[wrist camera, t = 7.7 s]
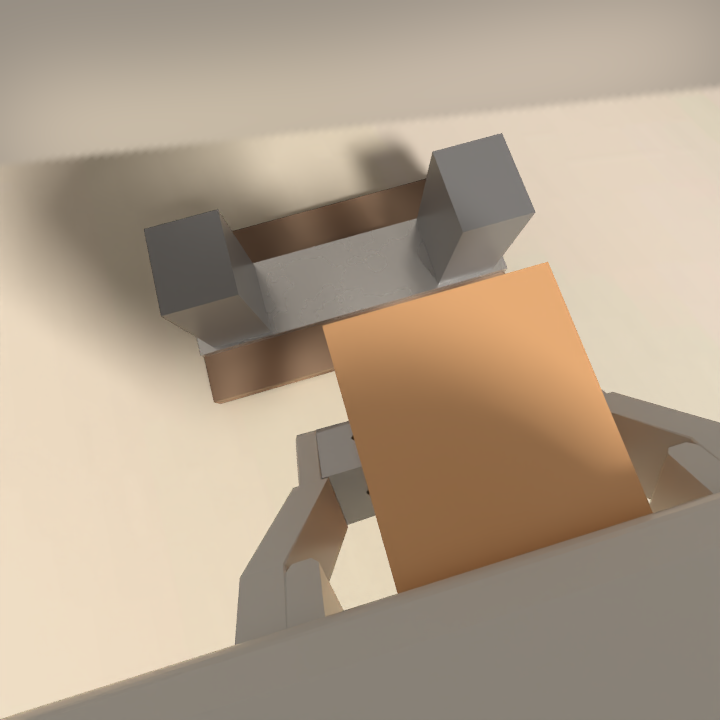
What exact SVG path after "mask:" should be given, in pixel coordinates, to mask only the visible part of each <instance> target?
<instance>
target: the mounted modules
mask: <svg viewBox="0 0 720 720" xmlns="http://www.w3.org/2000/svg"><path fill="white" fill-rule="evenodd" d="M534 213H535V210H534V208H533V205H532V203H531V201H530V198H529V196H528V193H527V191H526V189H525V186H524V184H523V182H522V179H521V177H520V175H519V172H518V170H517V168H516V165H515V163H514V160H513V158H512V156H511V153H510V151H509V149H508V146H507V144H506V142H505V139H504V137H503V134H502V133H501V134H497V135H493V136H490V137H486V138H482V139H478V140H475V141H471V142H467V143H463V144H460V145H456V146H452V147H448V148H445V149H441V150H437V151H434V152H432V157H431V161H430V165H429V169H428V174H427V178H426V182H425V186H424V191H423V195H422V199H421V203H420V208H419V212H418V216H417V221H416V223H417V225H418V228H419V231H420V234H421V237H422V240H423V242H424V245H425V248H426V251H427V254H428V257H429V259H430V262H431V265H432V268H433V271H434V274H435V276H436V279H437V282H438V284H441V283H445V282H448V281H452V280H456V279H459V278H463V277H466V276H470V275H473V274H477V273H480V272H484V271H487V270H491V269H493V268H494V266H495V265H496V264H497V263H498V261H499V260H500V259H501V257H502V256H503V255H504V253H505V252H506V251H507V249H508V248H509V247H510V245H511V244H512V243H513V241H514V240H515V239H516V237H517V236H518V235H519V233H520V232H521V231H522V229H523V228H524V227H525V225H526V224H527V223H528V221H529V220H530V219H531V217H532V216H533V215H534ZM144 232H145V237H146V242H147V247H148V252H149V257H150V262H151V267H152V273H153V278H154V283H155V288H156V293H157V298H158V303H159V308H160V313H161V316H162V317H163V318H165V319H167V320H168V321H170V322H172V323H173V324H175V325H177V326H178V327H180V328H182V329H183V330H185V331H187V332H189V333H190V334H192V335H194V336H195V337H197V338H199V339H200V340H202V341H204V342H205V343H207V344H209V345H210V346H212V347H214V348H215V347H219V346H222V345H226V344H230V343H233V342H237V341H240V340H244V339H247V338H251V337H254V336H258V335H261V334H265V333H268V332H271V328H270V324H269V321H268V317H267V313H266V309H265V305H264V301H263V297H262V293H261V289H260V285H259V281H258V277H257V273H256V270H255V266H254V264H253V263H252V261H251V260H250V258H249V257H248V255H247V254H246V252H245V251H244V249H243V247H242V246H241V244H240V243H239V241H238V240H237V238H236V237H235V235H234V234H233V232H232V230H231V229H230V227H229V226H228V224H227V223H226V221H225V220H224V218H223V217H222V215H221V213H220V212H219V210H218V209H217V210H213V211H210V212H206V213H202V214H199V215H195V216H191V217H187V218H184V219H180V220H176V221H172V222H169V223H165V224H161V225H158V226H154V227H150V228H146V229H144Z"/></svg>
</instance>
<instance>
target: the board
mask: <svg viewBox="0 0 720 720" xmlns="http://www.w3.org/2000/svg"><path fill="white" fill-rule="evenodd" d="M425 182H426V179H423V180H420V181H416V182H412V183H409V184H405V185H401V186H398V187H394V188H390V189H387V190H383V191H379V192H375V193H372V194H368V195H364V196H361V197H357V198H353V199H350V200H346V201H342V202H339V203H335V204H331V205H328V206H324V207H320V208H316V209H313V210H309V211H305V212H302V213H298V214H294V215H291V216H287V217H283V218H280V219H276V220H272V221H268V222H265V223H261V224H257V225H254V226H250V227H246V228H243V229H239V230H235V231H232V232H233V234H234V235H235V237H236V238H237V240H238V241H239V243H240V244H241V246H242V247H243V249H244V251H245V252H246V254H247V255H248V257H249V258H250V260H251V261H252V263H256V262H260V261H263V260H267V259H271V258H274V257H278V256H282V255H285V254H289V253H292V252H296V251H300V250H303V249H307V248H311V247H314V246H318V245H322V244H325V243H329V242H332V241H336V240H340V239H343V238H347V237H351V236H354V235H358V234H362V233H365V232H369V231H372V230H376V229H380V228H383V227H387V226H391V225H394V224H398V223H402V222H405V221H409V220H412V219H416V218H417V216H418V212H419V208H420V203H421V199H422V195H423V191H424V186H425ZM503 274H505V272H502V273H499V274H495V275H492V276H488V277H485V278H481V279H478V280H474V281H471V282H467V283H464V284H460V285H457V286H453V287H450V288H446V289H443V290H439V291H435V292H432V293H428V294H425V295H421V296H418V297H414V298H411V299H407V300H404V301H400V302H397V303H393V304H390V305H386V306H383V307H379V308H376V309H372V310H369V311H365V312H362V313H358V314H354V315H351V316H347V317H344V318H340V319H337V320H333V321H330V322H326V323H323V324H319V325H316V326H312V327H309V328H305V329H302V330H298V331H295V332H291V333H288V334H284V335H281V336H277V337H273V338H270V339H266V340H263V341H259V342H256V343H252V344H249V345H245V346H242V347H238V348H235V349H231V350H228V351H224V352H221V353H217V354H214V355H210V356H207V357H204V358H205V363H206V368H207V372H208V377H209V381H210V386H211V391H212V395H213V400H214V402H215V403H219V404H222V403H225V402H228V401H232V400H235V399H239V398H242V397H246V396H249V395H253V394H256V393H260V392H263V391H266V390H270V389H273V388H277V387H280V386H284V385H287V384H291V383H294V382H298V381H301V380H304V379H308V378H311V377H315V376H318V375H322V374H325V373H329V372H332V371H335V369H334V366H333V362H332V359H331V355H330V352H329V348H328V345H327V341H326V338H325V334H324V331H323V327H322V326H323V325H327V324H330V323H334V322H337V321H341V320H344V319H348V318H352V317H355V316H359V315H362V314H366V313H369V312H373V311H376V310H380V309H383V308H387V307H390V306H394V305H397V304H401V303H404V302H408V301H412V300H415V299H419V298H422V297H426V296H429V295H433V294H436V293H440V292H443V291H447V290H450V289H454V288H457V287H461V286H464V285H468V284H472V283H475V282H479V281H482V280H486V279H489V278H493V277H496V276H500V275H503Z"/></svg>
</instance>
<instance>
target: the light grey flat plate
mask: <svg viewBox="0 0 720 720" xmlns="http://www.w3.org/2000/svg"><path fill="white" fill-rule="evenodd" d="M416 221H417V218H416V219H412V220H409V221H405V222H402V223H398V224H394V225H391V226H387V227H383V228H380V229H376V230H372V231H369V232H365V233H362V234H358V235H354V236H351V237H347V238H343V239H340V240H336V241H332V242H329V243H325V244H322V245H318V246H314V247H311V248H307V249H303V250H300V251H296V252H292V253H289V254H285V255H282V256H278V257H274V258H271V259H267V260H263V261H260V262H256V263H253V264H254V266H255V270H256V273H257V277H258V281H259V285H260V289H261V293H262V297H263V301H264V305H265V309H266V313H267V317H268V321H269V324H270V328H271V332H268V333H265V334H261V335H258V336H254V337H251V338H247V339H244V340H240V341H237V342H233V343H230V344H226V345H222V346H219V347H215V348H214V347H212V346H210V345H209V344H207V343H205V342H204V341H202V340H200V339H199V338H197V341H198V345H199V350H200V355H201V356H203V357H207V356H210V355H214V354H217V353H221V352H224V351H228V350H231V349H235V348H238V347H242V346H245V345H249V344H252V343H256V342H259V341H263V340H266V339H270V338H273V337H277V336H281V335H284V334H288V333H291V332H295V331H298V330H302V329H305V328H309V327H312V326H316V325H319V324H323V323H326V322H330V321H333V320H337V319H340V318H344V317H347V316H351V315H354V314H358V313H362V312H365V311H369V310H372V309H376V308H379V307H383V306H386V305H390V304H393V303H397V302H400V301H404V300H407V299H411V298H414V297H418V296H421V295H425V294H428V293H432V292H435V291H439V290H443V289H446V288H450V287H453V286H457V285H460V284H464V283H467V282H471V281H474V280H478V279H481V278H485V277H488V276H492V275H495V274H499V273H502V272H505V271H506V269H507V266H506V264H505V261H504V259H503V256H502V257H501V259H500V260H499V261H498V263H497V264H496V265H495V266H494V268H493V269H491V270H487V271H484V272H480V273H477V274H473V275H470V276H466V277H463V278H459V279H456V280H452V281H448V282H445V283H441V284H438V282H437V279H436V276H435V274H434V271H433V268H432V265H431V262H430V259H429V257H428V254H427V251H426V248H425V245H424V242H423V240H422V237H421V234H420V231H419V228H418V225H417V223H416Z"/></svg>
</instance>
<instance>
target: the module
mask: <svg viewBox="0 0 720 720" xmlns="http://www.w3.org/2000/svg"><path fill="white" fill-rule="evenodd" d="M322 327H323V331H324V334H325V338H326V341H327V345H328V348H329V352H330V355H331V359H332V362H333V366H334V369H335V373H336V377H337V380H338V384H339V387H340V391H341V394H342V398H343V401H344V405H345V408H346V412H347V416H348V419H349V423H350V426H351V430H352V433H353V437H354V440H355V444H356V447H357V451H358V455H359V458H360V462H361V465H362V469H363V472H364V476H365V479H366V483H367V486H368V490H369V493H370V497H371V501H372V504H373V508H374V511H375V515H376V518H377V522H378V525H379V529H380V532H381V536H382V540H383V543H384V547H385V550H386V554H387V557H388V561H389V564H390V568H391V571H392V575H393V579H394V582H395V586H396V589H397V593H402V592H405V591H408V590H411V589H414V588H417V587H421V586H424V585H427V584H430V583H433V582H436V581H440V580H443V579H446V578H449V577H452V576H455V575H458V574H462V573H465V572H468V571H471V570H474V569H477V568H481V567H484V566H487V565H490V564H493V563H496V562H499V561H503V560H506V559H509V558H512V557H515V556H518V555H521V554H525V553H528V552H531V551H534V550H537V549H540V548H544V547H547V546H550V545H553V544H556V543H559V542H562V541H566V540H569V539H572V538H575V537H578V536H581V535H585V534H588V533H591V532H594V531H597V530H600V529H604V528H607V527H610V526H613V525H616V524H619V523H623V522H626V521H629V520H632V519H635V518H638V517H641V516H645V515H648V514H651V513H653V512H652V510H651V507H650V505H649V502H648V500H647V498H646V495H645V493H644V490H643V488H642V486H641V483H640V481H639V478H638V476H637V474H636V471H635V469H634V466H633V464H632V462H631V459H630V457H629V455H628V452H627V450H626V447H625V445H624V443H623V440H622V438H621V435H620V433H619V431H618V428H617V426H616V423H615V421H614V419H613V416H612V414H611V411H610V409H609V407H608V404H607V402H606V400H605V397H604V395H603V392H602V390H601V388H600V385H599V383H598V380H597V378H596V376H595V373H594V371H593V368H592V366H591V364H590V361H589V359H588V357H587V354H586V352H585V349H584V347H583V345H582V342H581V340H580V337H579V335H578V333H577V330H576V328H575V325H574V323H573V321H572V318H571V316H570V313H569V311H568V309H567V306H566V304H565V302H564V299H563V297H562V294H561V292H560V290H559V287H558V285H557V282H556V280H555V278H554V275H553V273H552V270H551V268H550V266H549V263H548V262H546V263H542V264H539V265H535V266H532V267H528V268H524V269H521V270H517V271H514V272H510V273H507V274H503V275H500V276H496V277H493V278H489V279H486V280H482V281H479V282H475V283H472V284H468V285H464V286H461V287H457V288H454V289H450V290H447V291H443V292H440V293H436V294H433V295H429V296H426V297H422V298H419V299H415V300H412V301H408V302H404V303H401V304H397V305H394V306H390V307H387V308H383V309H380V310H376V311H373V312H369V313H366V314H362V315H359V316H355V317H352V318H348V319H344V320H341V321H337V322H334V323H330V324H327V325H323V326H322Z"/></svg>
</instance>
